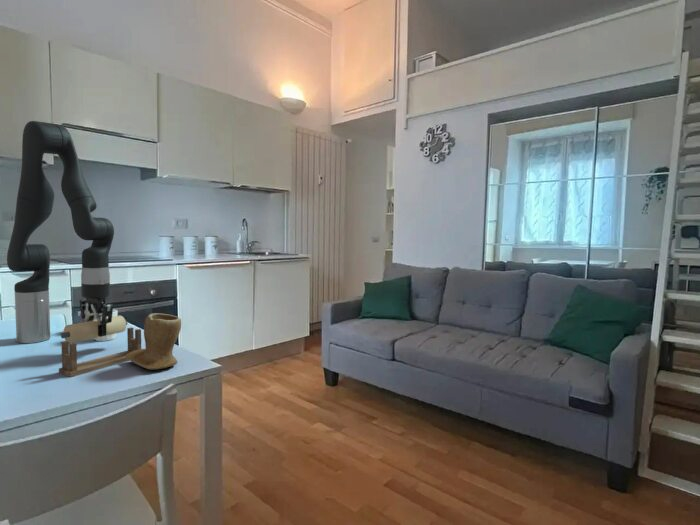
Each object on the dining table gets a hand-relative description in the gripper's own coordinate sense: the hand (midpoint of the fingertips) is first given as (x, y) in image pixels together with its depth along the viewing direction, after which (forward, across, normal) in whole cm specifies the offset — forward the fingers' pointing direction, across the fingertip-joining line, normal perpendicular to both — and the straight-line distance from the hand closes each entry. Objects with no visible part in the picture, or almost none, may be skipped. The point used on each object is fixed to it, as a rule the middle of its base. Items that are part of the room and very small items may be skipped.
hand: (96, 334), depth 126 cm
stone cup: (+6, +25, +3) cm, 26 cm away
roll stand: (+6, +12, -5) cm, 15 cm away
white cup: (+6, -13, +11) cm, 18 cm away
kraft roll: (+1, 0, 0) cm, 1 cm away
